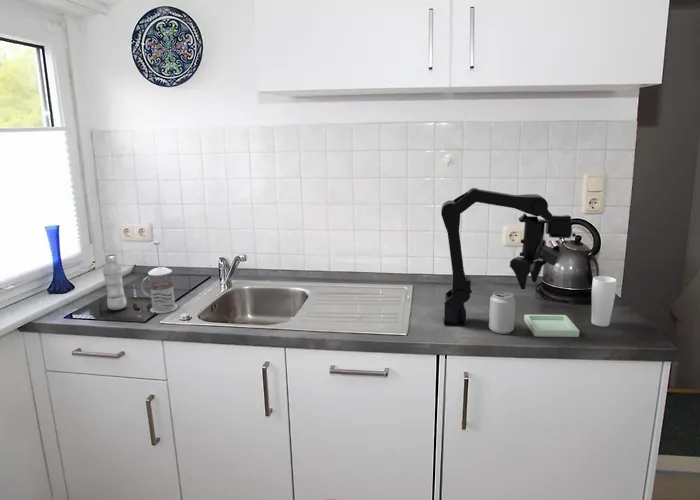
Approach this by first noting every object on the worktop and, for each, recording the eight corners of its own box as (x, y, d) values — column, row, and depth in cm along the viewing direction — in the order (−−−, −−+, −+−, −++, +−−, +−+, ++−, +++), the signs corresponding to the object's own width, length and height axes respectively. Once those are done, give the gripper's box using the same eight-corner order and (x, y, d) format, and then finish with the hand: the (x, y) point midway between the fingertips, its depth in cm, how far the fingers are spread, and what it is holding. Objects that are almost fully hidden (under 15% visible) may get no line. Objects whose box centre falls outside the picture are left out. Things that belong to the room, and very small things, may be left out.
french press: (177, 311, 184) (169, 243, 178) (142, 315, 181) (133, 245, 175) (179, 302, 193) (172, 237, 187) (146, 305, 191) (138, 239, 185)
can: (483, 327, 164) (485, 291, 161) (503, 324, 166) (505, 288, 164) (498, 336, 157) (500, 299, 154) (518, 332, 160) (521, 295, 157)
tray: (534, 336, 157) (534, 330, 156) (524, 320, 169) (524, 314, 169) (578, 337, 155) (579, 330, 155) (565, 320, 168) (565, 315, 168)
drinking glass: (583, 322, 167) (587, 277, 163) (599, 318, 169) (604, 274, 165) (600, 329, 160) (605, 283, 157) (617, 326, 163) (622, 280, 159)
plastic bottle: (128, 304, 192) (121, 252, 187) (126, 311, 186) (119, 256, 181) (109, 307, 190) (101, 254, 185) (106, 313, 184) (99, 258, 179)
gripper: (549, 246, 146) (543, 298, 149) (570, 235, 160) (565, 283, 163) (511, 240, 153) (506, 290, 156) (534, 230, 166) (530, 276, 170)
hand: (528, 285), depth 161 cm, fingers open, 9 cm apart
